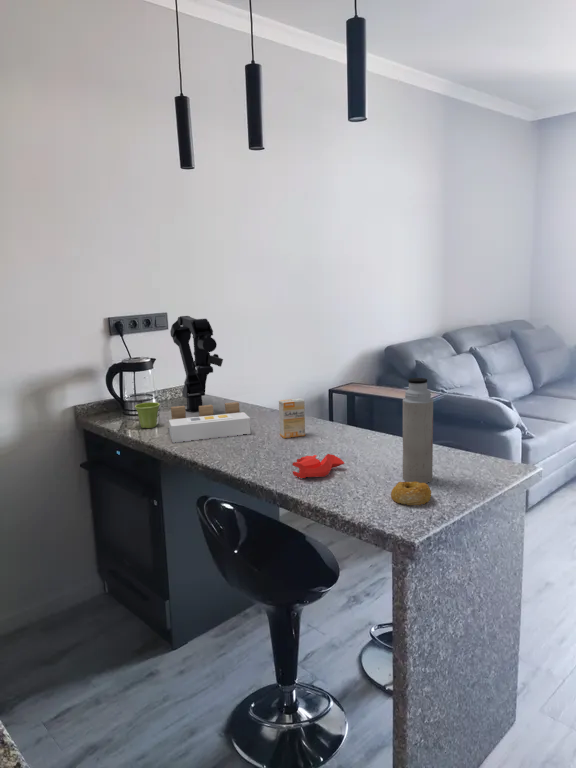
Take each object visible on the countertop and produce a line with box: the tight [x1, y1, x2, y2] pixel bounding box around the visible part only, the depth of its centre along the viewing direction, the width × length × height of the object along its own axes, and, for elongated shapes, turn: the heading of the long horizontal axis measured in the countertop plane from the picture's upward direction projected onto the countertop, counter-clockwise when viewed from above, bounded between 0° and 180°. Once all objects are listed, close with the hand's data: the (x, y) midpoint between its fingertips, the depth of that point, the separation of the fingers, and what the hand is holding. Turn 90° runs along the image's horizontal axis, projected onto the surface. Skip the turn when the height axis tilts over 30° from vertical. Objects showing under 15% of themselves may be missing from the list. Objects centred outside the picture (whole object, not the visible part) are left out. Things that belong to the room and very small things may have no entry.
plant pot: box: [134, 401, 161, 429], centre depth 224 cm, size 9×9×9 cm
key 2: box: [224, 401, 240, 414], centre depth 219 cm, size 2×5×8 cm, turn 107°
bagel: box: [390, 481, 432, 506], centre depth 144 cm, size 10×11×5 cm
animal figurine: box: [292, 453, 346, 479], centre depth 166 cm, size 12×15×5 cm
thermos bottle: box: [402, 377, 434, 484], centre depth 155 cm, size 8×8×28 cm
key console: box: [167, 411, 252, 444], centre depth 213 cm, size 18×28×6 cm, turn 107°
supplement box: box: [278, 397, 306, 439], centre depth 203 cm, size 8×5×13 cm, turn 109°
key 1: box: [170, 405, 187, 420], centre depth 216 cm, size 2×5×8 cm, turn 107°
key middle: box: [198, 404, 214, 417], centre depth 216 cm, size 2×5×8 cm, turn 107°
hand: (203, 387), depth 237 cm, fingers closed
